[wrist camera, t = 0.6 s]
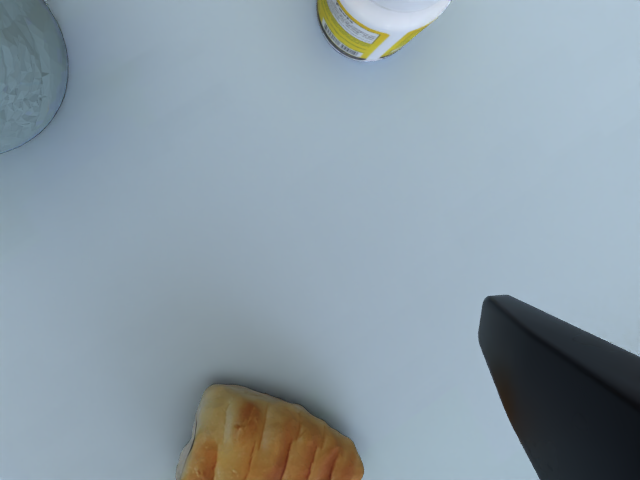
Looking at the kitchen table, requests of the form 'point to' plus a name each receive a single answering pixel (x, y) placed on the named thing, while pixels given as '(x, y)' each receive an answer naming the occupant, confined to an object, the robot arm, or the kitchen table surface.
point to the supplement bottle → (375, 24)
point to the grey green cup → (29, 70)
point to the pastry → (263, 441)
